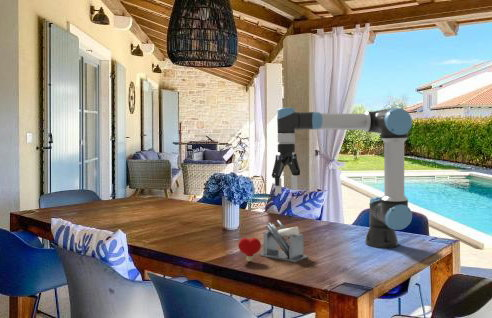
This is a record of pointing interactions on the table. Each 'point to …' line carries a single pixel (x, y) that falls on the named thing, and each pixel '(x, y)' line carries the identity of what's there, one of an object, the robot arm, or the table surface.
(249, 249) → the red heart on stand
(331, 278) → the table surface
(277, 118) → the robot arm
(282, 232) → the peg
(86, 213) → the table surface
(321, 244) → the table surface
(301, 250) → the chute
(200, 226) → the table surface
